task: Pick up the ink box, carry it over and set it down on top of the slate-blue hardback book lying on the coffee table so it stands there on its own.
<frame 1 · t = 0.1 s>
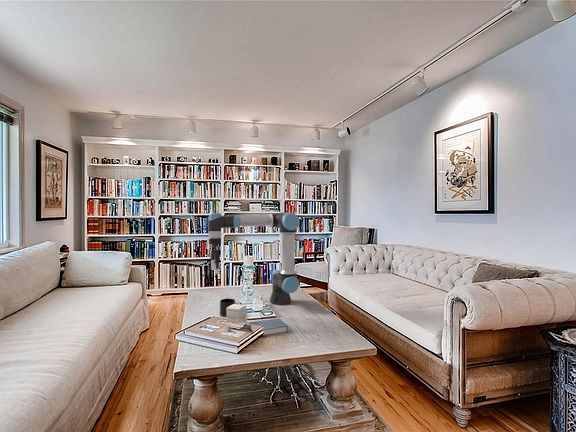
hand: (215, 271, 199), 28 cm above the table, fingers open, 13 cm apart
mug: (229, 314, 204), on the table
ink box: (236, 326, 183), on the table
book: (268, 330, 178), on the table
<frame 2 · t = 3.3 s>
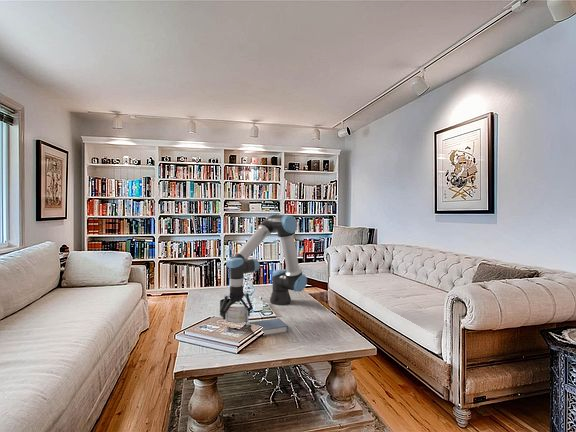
hand: (236, 323, 183), 2 cm above the table, fingers closed on ink box, 11 cm apart
ink box: (236, 326, 183), on the table, touching gripper
everything else where it was.
when the fingers open (7 cm above the table, at t = 8.9 s): ink box drops 2 cm, resting on book.
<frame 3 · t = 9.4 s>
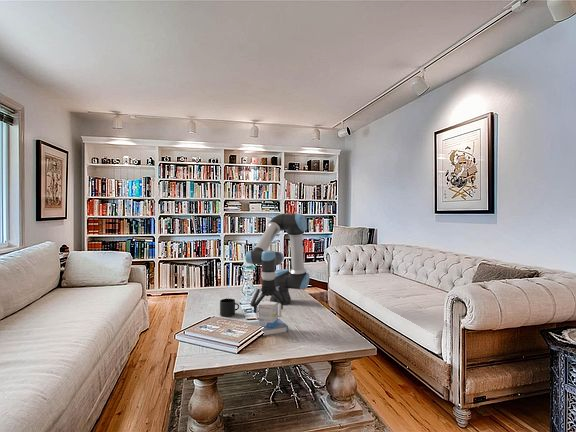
hand: (268, 317, 178), 7 cm above the table, fingers open, 13 cm apart
ink box: (268, 324, 178), point 3 cm above the table, touching book
book: (268, 330, 178), on the table, touching ink box
everything else where it was.
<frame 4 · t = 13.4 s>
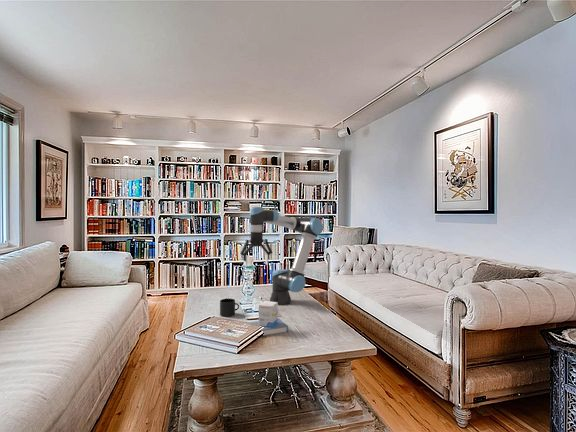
hand: (256, 265, 200), 32 cm above the table, fingers open, 13 cm apart
nothing on the table moved.
at the end: ink box inside the target area on the book (0.2 cm from its centre), point 3.4 cm above the book's base; ink box tilted 1°; the gripper is holding nothing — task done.
